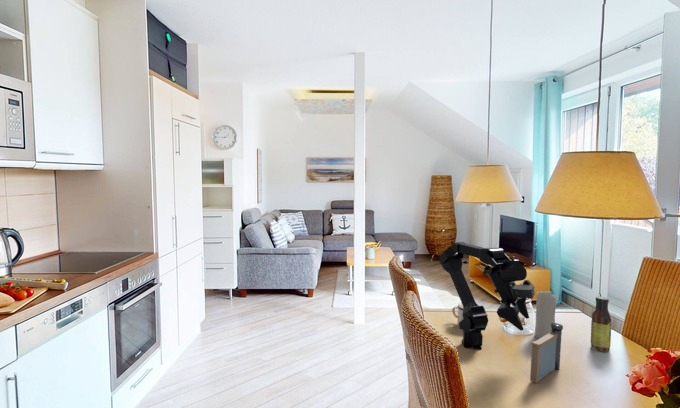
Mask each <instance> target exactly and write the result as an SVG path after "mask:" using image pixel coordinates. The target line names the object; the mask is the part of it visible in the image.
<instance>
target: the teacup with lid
mask: <svg viewBox="0 0 680 408" xmlns="http://www.w3.org/2000/svg"><path fill="white" fill-rule="evenodd" d="M456 309H457V314H456V311H455V310H456ZM451 312H452V315H453V316H454V318H456V319H457V324H456V325H457V326H458V327H459V322H460V321H462V320H463V315H462V314H463V305H462V302H460V303H458V305H457V306H454V307H452V311H451Z"/></svg>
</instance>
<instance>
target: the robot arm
mask: <svg viewBox="0 0 680 408" xmlns="http://www.w3.org/2000/svg"><path fill="white" fill-rule="evenodd" d="M465 255H466V256H470V257H473V258H477V259H478V260H479V262H481V263H483V264H485V265H486V266H484V267H483V271H482V275H484V276H485V275H488V277H489V279H490V281H491V283H492V285H493V287H494V288H495V289H494V293H495V294H498V295H499V297H500V303H501V304H500V305H499V306H498V307H497V311H496V314H497V316H498V317H499V318H500V319H504V320H505V321H506V322H508V323H510V324H511V325H513V326H514V327H515V328H516V329H518V330H519V331H524V326H523V324H522V321H521V318H520V316H519V313H520V315H522V317H524V318H525V319H530V315H529V311H528V308H527V307H528V306H527V304H526V300H531V299H533V298H534V296H535V293H536V292H535V286H534V284H533V283H532V282H531V281H530V280H529V279H526V278H527V276H528V275H527V274H528V272H527V269H526V267H525V266H524V265H523V264H522V263H520V260H519V259H511V258H510V257H509V256H508V255H507V254H506V252H505V251H504V249H503V248H501V247H482V246H479V245H474V244H470V243H466V242H464V241H461V242H460V241H459V242H454V243H452V245H451V246H449V247H448V248H446V249H445V250H444V251H442V253H441V254H440V256H439V259H438V260H439V263H440V264H441V267H442V269H443V270H444V271H446V272H447V273H448V274H449V275H450V277H451V278H450V279H451V281H452V283H453V285H454V287H455V290H456V293H457V295H458V297H459V300H460V303H462V305H463V314H462V315H463V320H462V321H460V322H459V326H458V327H459V329H460V330H461V331H462V339H461V342H462V345H463V348H466V349H475V350H482V349H483V348H482V347H483V340H484V339H483V337H484V336H483V334H482V331H486V329H487V326H488V323H489V318H488V316H489V315H488V313H487V311H486V310H485V307H484V306H483V305H479V304H478V303H476V300H475V297H474V296H473V294H472V291H471V289H470V287H469V284H468V281H467V279H466V277H465V275H464V273H463V270H462V269H463V265H464V264H463V259H464V258H465ZM520 281H523V282H522V283H519V284H516V282H520Z"/></svg>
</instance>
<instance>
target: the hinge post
mask: <svg viewBox="0 0 680 408" xmlns="http://www.w3.org/2000/svg"><path fill="white" fill-rule="evenodd" d="M551 328H552V329H551V332H553V333H556V334H557V339H556V357H555V369H554V370H555V371H559V370H560V366H561V347H562V334H563V333H562V331H563V329H564V325H563V324H561V323H557V322H555V323H551ZM554 370H553V371H554Z"/></svg>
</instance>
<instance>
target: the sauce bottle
mask: <svg viewBox="0 0 680 408" xmlns="http://www.w3.org/2000/svg"><path fill="white" fill-rule="evenodd" d="M609 301H610V299H609V298H608V297H605V296H596V297H595V309H594V310H593V312H592V313H591V322H590V323H591V324H590V347H591V349H593V350H595V351H597V352H603V353H608V352H610V349H611V343H612V342H611V341H612V339H611V338H612V318H611V315H610V312H609V309H608V307H609Z"/></svg>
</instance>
